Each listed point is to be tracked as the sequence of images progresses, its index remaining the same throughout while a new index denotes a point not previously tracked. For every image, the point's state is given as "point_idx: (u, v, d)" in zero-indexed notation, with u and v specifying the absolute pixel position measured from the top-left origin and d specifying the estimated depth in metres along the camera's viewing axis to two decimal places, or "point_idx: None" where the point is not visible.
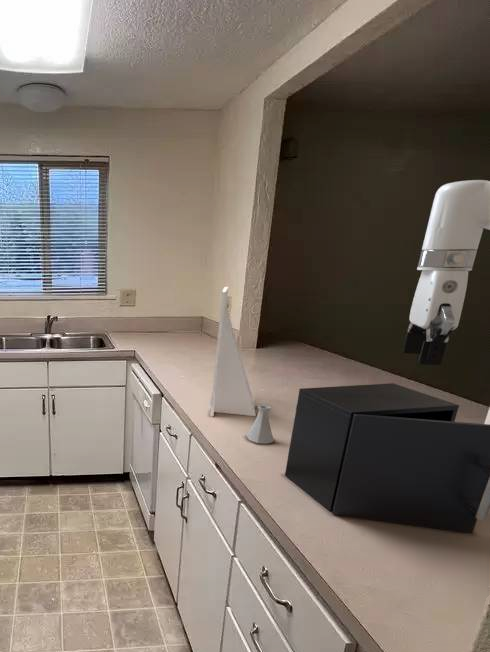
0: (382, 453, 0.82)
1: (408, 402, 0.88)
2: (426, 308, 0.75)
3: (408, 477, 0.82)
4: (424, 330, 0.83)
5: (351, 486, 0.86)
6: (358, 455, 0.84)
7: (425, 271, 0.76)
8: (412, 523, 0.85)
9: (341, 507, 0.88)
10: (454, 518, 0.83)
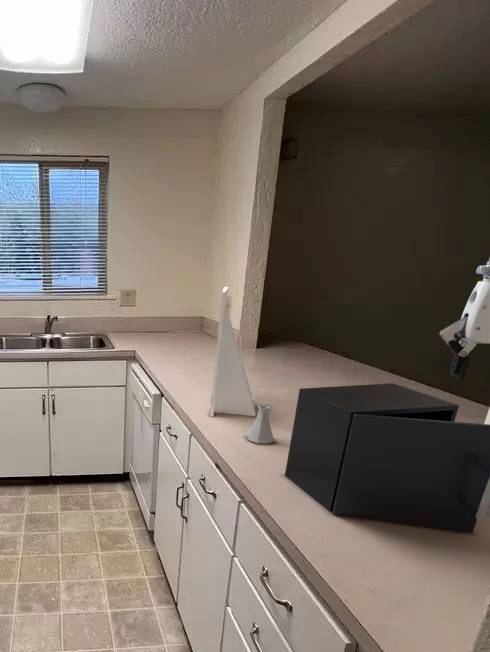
0: (382, 453, 0.82)
1: (408, 402, 0.88)
2: None
3: (408, 477, 0.82)
4: None
5: (351, 486, 0.86)
6: (358, 455, 0.84)
7: None
8: (412, 523, 0.85)
9: (341, 507, 0.88)
10: (454, 518, 0.83)
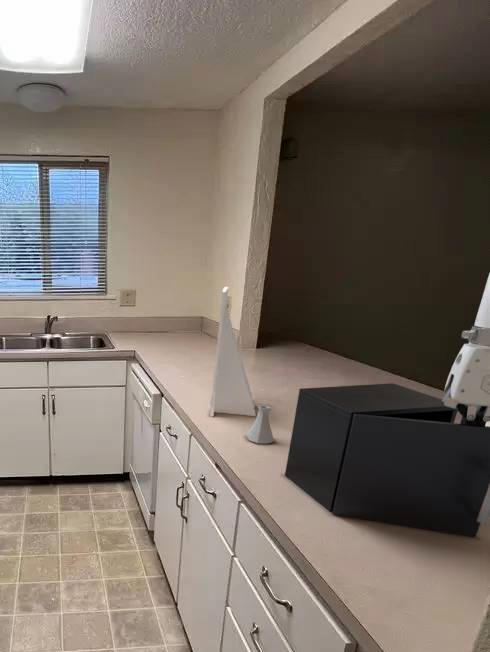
0: (382, 454, 0.82)
1: (408, 402, 0.88)
2: None
3: (409, 478, 0.82)
4: (483, 415, 0.76)
5: (351, 486, 0.86)
6: (358, 455, 0.83)
7: None
8: (413, 525, 0.84)
9: (341, 507, 0.88)
10: (456, 521, 0.82)
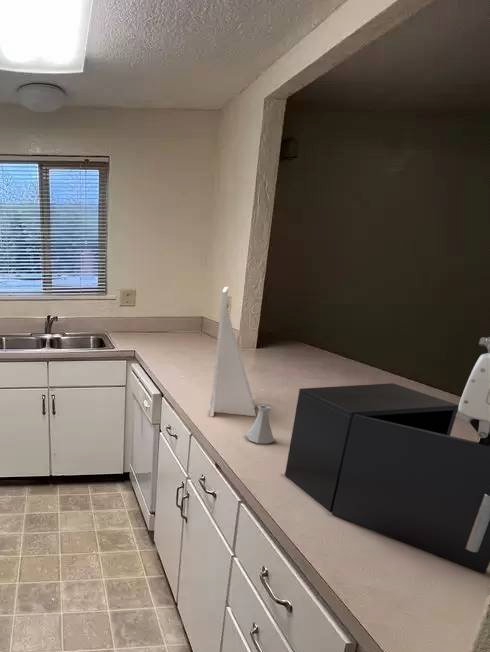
0: (380, 459, 0.80)
1: (408, 402, 0.88)
2: None
3: (408, 491, 0.78)
4: None
5: (349, 488, 0.85)
6: (356, 457, 0.83)
7: None
8: (413, 544, 0.79)
9: (339, 508, 0.87)
10: (461, 550, 0.74)
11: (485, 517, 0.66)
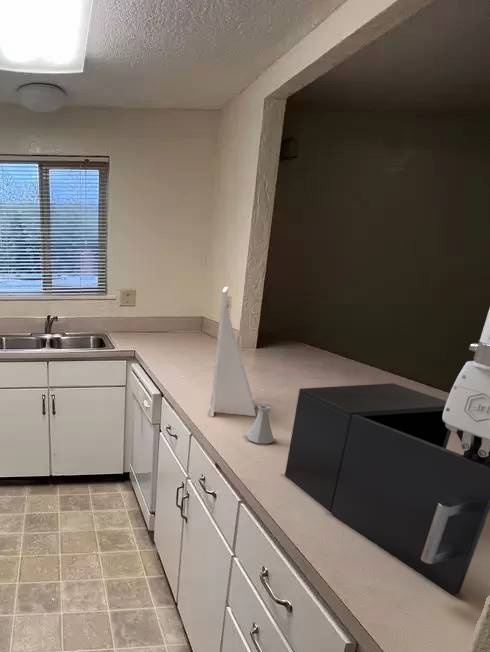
0: (371, 462, 0.79)
1: (408, 402, 0.88)
2: None
3: (393, 497, 0.76)
4: None
5: (345, 489, 0.85)
6: (352, 457, 0.83)
7: None
8: (394, 554, 0.76)
9: (337, 508, 0.87)
10: (435, 566, 0.70)
11: (436, 527, 0.64)
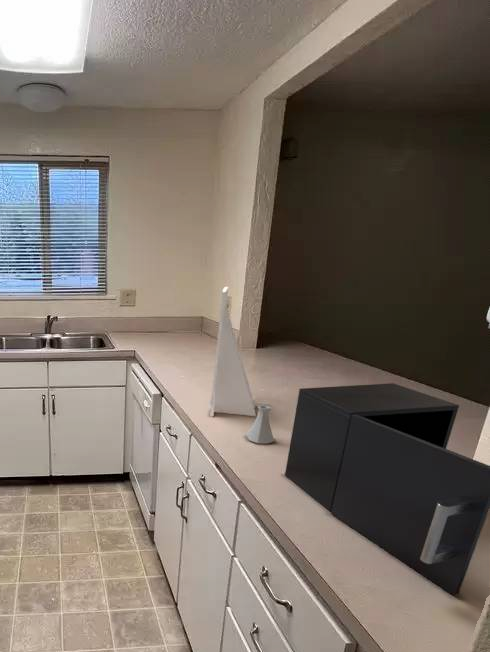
0: (371, 462, 0.79)
1: (408, 402, 0.88)
2: None
3: (392, 498, 0.76)
4: None
5: (345, 489, 0.85)
6: (352, 457, 0.83)
7: None
8: (394, 554, 0.76)
9: (337, 508, 0.87)
10: (434, 567, 0.70)
11: (435, 527, 0.64)
